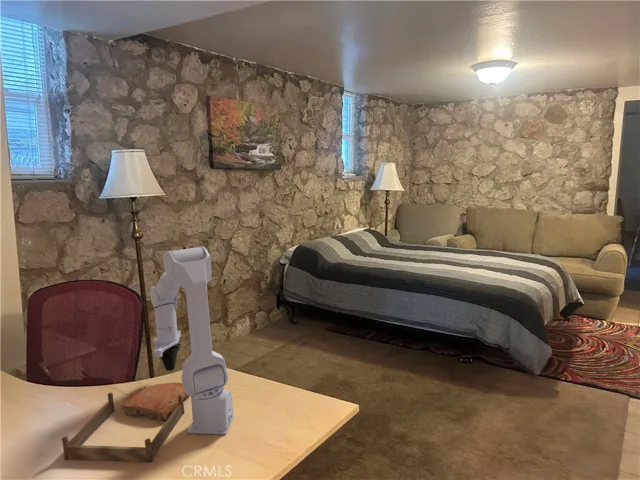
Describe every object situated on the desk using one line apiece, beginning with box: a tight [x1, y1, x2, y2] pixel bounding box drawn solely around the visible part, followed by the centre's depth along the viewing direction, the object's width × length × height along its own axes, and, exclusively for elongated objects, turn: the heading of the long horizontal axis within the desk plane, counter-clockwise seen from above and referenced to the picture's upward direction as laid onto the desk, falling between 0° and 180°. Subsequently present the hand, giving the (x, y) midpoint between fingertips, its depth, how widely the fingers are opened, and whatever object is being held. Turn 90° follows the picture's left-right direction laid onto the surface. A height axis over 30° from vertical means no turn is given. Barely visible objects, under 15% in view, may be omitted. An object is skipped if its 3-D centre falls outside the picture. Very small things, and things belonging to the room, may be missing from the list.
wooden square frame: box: [61, 392, 185, 464], centre depth 110 cm, size 20×20×5 cm
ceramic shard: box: [121, 381, 189, 423], centre depth 123 cm, size 15×6×15 cm
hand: (170, 369), depth 135 cm, fingers closed
